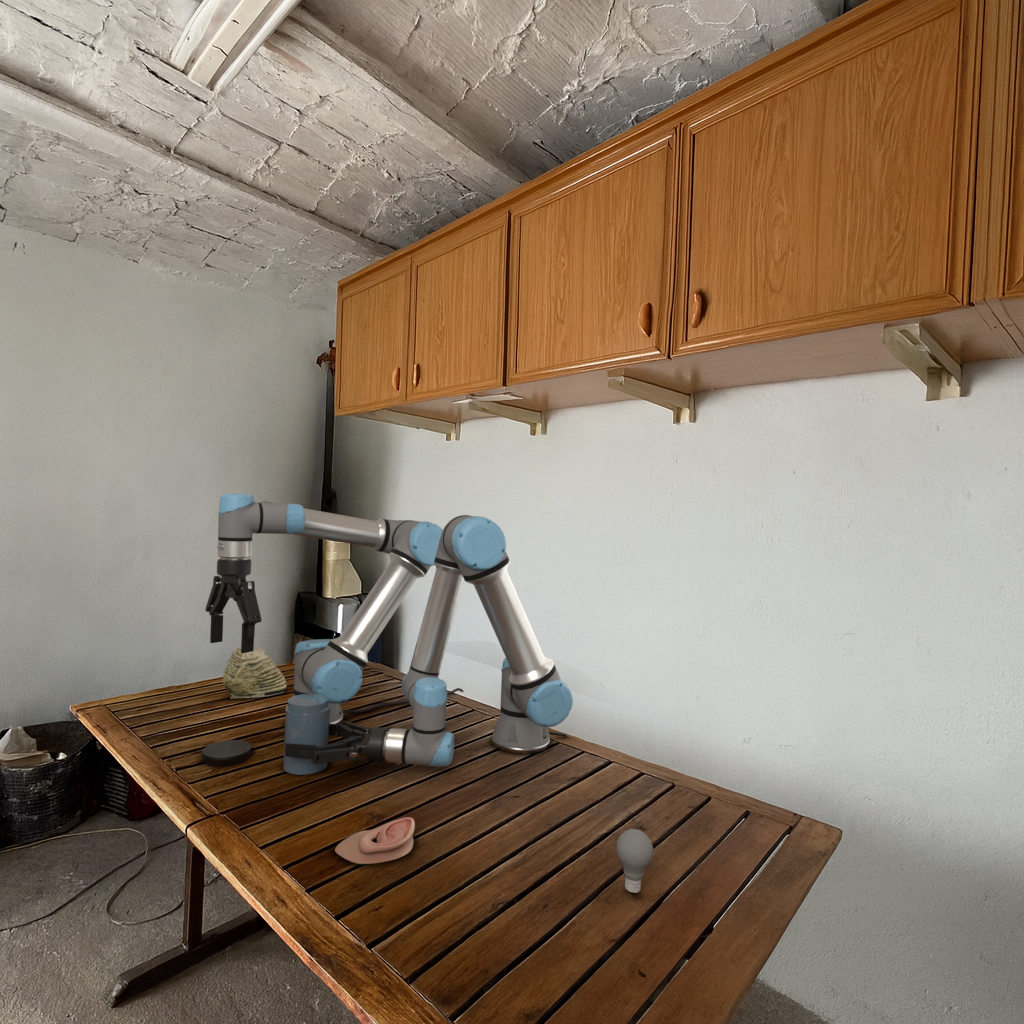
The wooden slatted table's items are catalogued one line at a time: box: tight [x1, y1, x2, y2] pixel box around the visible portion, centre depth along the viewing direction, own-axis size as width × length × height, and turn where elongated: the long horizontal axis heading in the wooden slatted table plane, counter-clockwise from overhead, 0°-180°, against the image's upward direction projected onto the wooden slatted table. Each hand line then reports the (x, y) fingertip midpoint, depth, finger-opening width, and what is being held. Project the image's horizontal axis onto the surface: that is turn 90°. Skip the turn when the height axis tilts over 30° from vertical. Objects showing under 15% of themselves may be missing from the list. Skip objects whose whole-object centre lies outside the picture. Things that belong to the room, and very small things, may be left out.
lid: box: [201, 739, 252, 767], centre depth 152 cm, size 11×11×2 cm
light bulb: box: [615, 828, 654, 894], centre depth 106 cm, size 6×6×10 cm
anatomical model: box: [334, 816, 416, 865], centre depth 115 cm, size 13×4×12 cm
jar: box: [282, 694, 330, 776], centre depth 149 cm, size 10×10×16 cm
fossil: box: [222, 646, 288, 699], centre depth 198 cm, size 9×18×15 cm, turn 132°
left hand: (231, 647), depth 151 cm, fingers open, 13 cm apart
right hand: (298, 738), depth 149 cm, fingers open, 13 cm apart
